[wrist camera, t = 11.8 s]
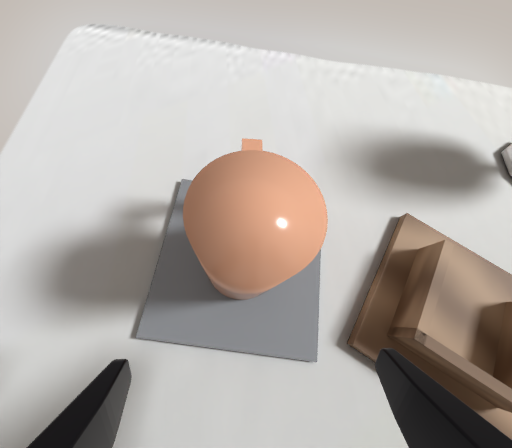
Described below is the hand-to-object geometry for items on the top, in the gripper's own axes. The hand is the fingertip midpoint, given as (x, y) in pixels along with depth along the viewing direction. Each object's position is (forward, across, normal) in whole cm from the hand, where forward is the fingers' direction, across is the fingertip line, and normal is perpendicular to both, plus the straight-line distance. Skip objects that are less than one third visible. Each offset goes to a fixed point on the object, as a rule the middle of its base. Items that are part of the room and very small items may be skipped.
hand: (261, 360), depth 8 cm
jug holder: (+9, -18, +7) cm, 22 cm away
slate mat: (+12, 0, +4) cm, 13 cm away
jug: (+13, 0, +3) cm, 13 cm away
